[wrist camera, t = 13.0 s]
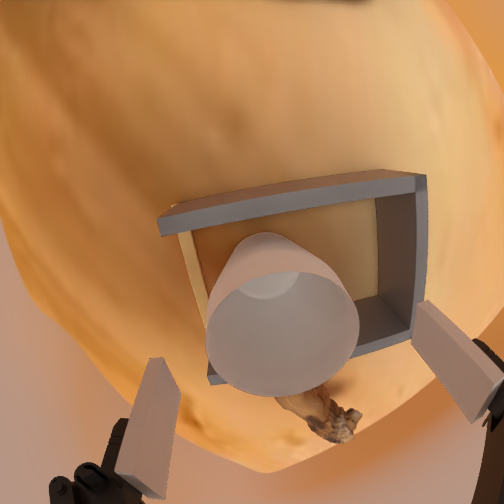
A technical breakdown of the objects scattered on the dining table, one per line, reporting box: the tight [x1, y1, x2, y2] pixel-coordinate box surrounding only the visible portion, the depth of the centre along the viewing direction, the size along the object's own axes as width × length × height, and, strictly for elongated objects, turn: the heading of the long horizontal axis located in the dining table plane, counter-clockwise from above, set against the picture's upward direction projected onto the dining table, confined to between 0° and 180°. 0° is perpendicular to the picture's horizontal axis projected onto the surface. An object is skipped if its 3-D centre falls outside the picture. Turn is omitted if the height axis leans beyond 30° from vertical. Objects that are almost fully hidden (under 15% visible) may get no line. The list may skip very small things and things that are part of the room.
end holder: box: [157, 169, 428, 385], centre depth 23 cm, size 14×20×7 cm
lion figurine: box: [274, 384, 362, 444], centre depth 26 cm, size 15×5×9 cm, turn 52°
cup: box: [205, 232, 360, 397], centre depth 20 cm, size 9×9×12 cm
